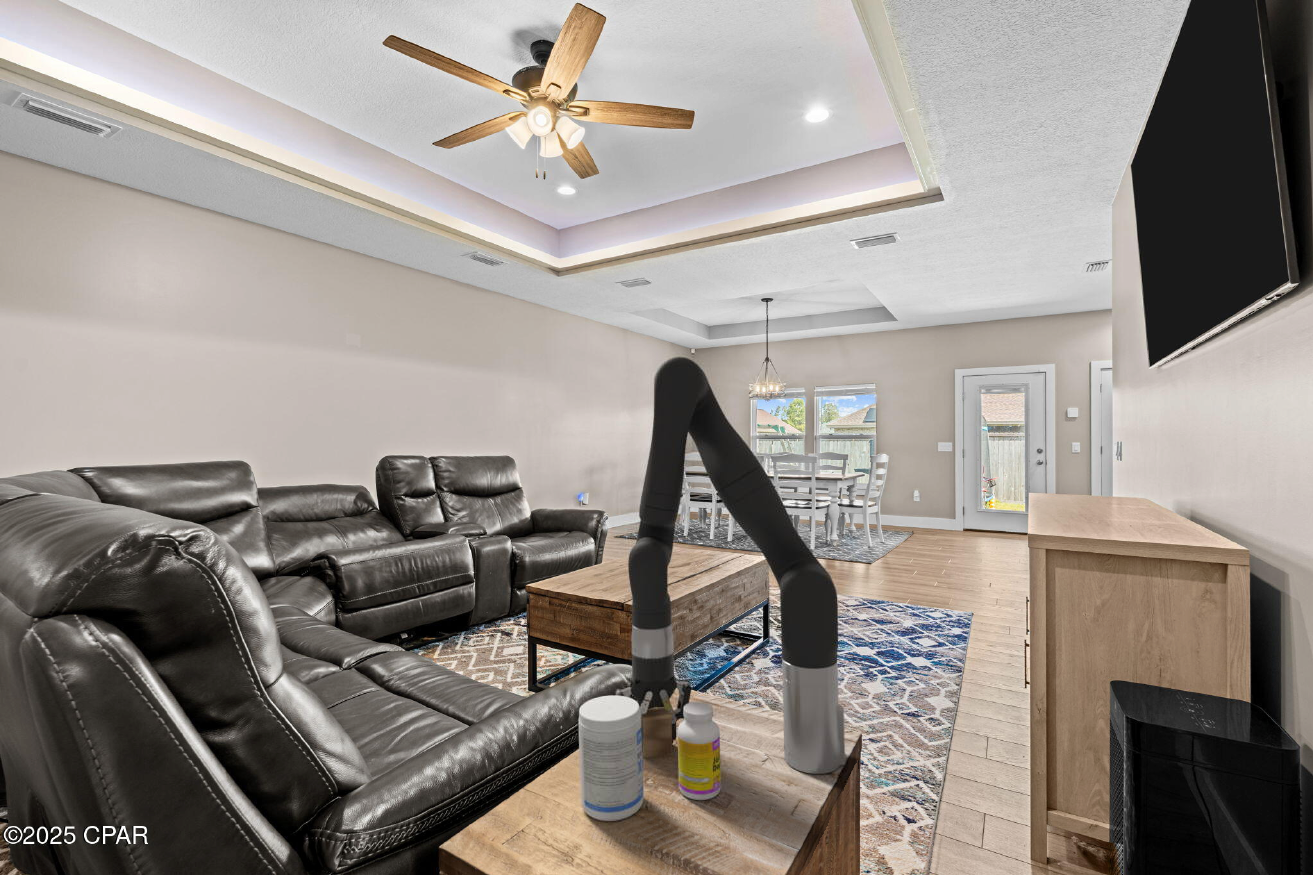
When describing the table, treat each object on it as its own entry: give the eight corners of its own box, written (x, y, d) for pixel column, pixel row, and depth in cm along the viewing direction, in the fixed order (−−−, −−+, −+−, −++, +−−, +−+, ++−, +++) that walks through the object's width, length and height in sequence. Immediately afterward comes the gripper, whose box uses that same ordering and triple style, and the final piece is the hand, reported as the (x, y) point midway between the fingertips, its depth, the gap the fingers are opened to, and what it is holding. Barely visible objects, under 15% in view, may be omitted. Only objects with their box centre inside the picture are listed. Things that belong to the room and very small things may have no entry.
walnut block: (665, 740, 109) (664, 702, 109) (672, 754, 104) (671, 714, 105) (638, 744, 108) (637, 705, 108) (644, 758, 103) (643, 718, 103)
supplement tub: (654, 811, 88) (652, 712, 89) (595, 832, 84) (593, 728, 84) (626, 779, 97) (624, 689, 97) (571, 797, 92) (569, 702, 92)
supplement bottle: (719, 804, 90) (716, 718, 90) (675, 800, 91) (673, 715, 91) (723, 779, 96) (721, 700, 96) (682, 775, 98) (680, 697, 98)
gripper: (685, 638, 112) (687, 729, 112) (609, 646, 108) (611, 739, 108) (697, 651, 105) (699, 749, 104) (616, 660, 101) (619, 761, 101)
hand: (654, 743), depth 106 cm, fingers closed on walnut block, 5 cm apart
